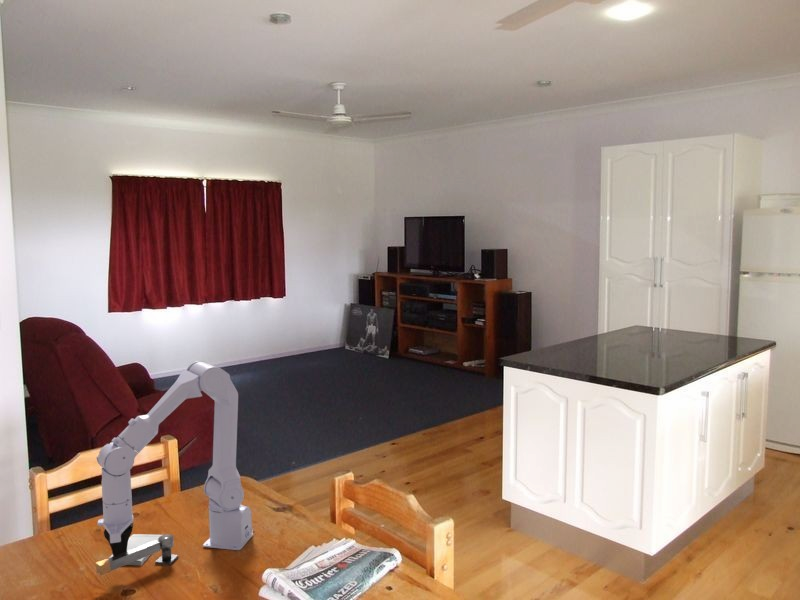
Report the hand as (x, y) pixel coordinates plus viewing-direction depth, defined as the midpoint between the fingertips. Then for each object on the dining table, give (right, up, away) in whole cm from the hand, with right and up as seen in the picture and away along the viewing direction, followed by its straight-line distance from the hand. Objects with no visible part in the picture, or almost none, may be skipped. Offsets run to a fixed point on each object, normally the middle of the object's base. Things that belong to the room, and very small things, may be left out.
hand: (120, 559), depth 140 cm
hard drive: (-1, -3, +11) cm, 11 cm away
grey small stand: (+8, -3, +6) cm, 11 cm away
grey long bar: (+3, 0, +1) cm, 4 cm away
